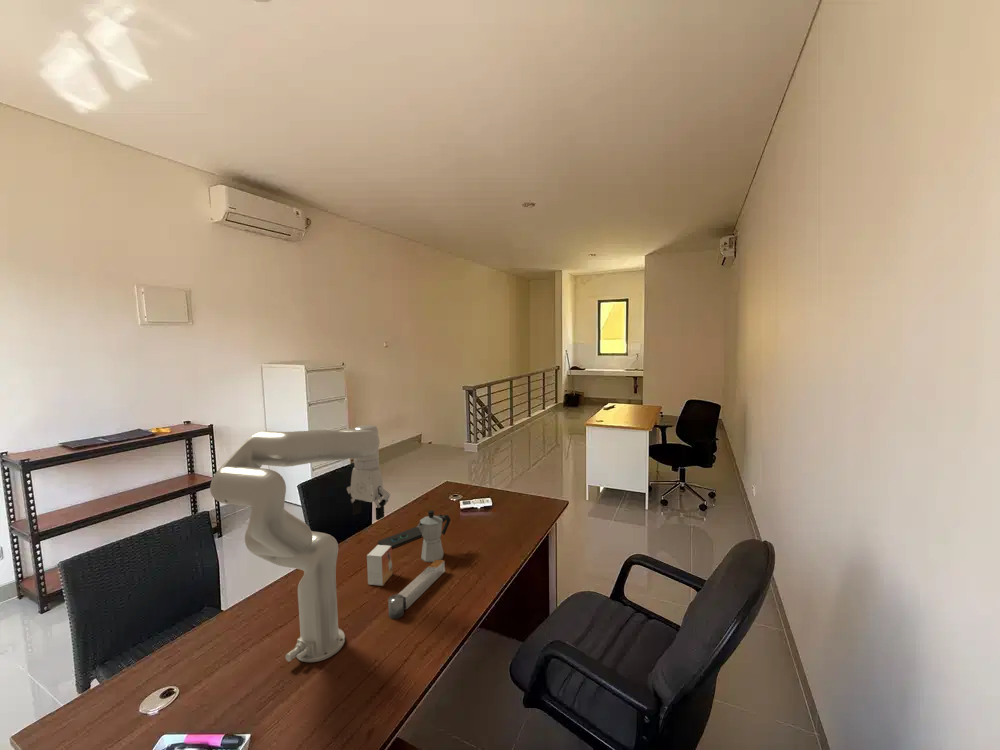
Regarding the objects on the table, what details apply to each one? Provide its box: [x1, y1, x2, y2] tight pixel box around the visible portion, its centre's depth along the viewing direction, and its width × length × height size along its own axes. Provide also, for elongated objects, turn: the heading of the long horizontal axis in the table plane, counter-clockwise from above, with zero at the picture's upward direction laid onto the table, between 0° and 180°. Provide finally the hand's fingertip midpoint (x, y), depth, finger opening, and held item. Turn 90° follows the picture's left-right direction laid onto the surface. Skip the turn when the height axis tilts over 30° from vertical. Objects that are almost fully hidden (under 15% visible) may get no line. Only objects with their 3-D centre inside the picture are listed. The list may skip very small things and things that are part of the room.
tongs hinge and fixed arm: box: [387, 560, 440, 620], centre depth 142 cm, size 28×4×5 cm, turn 157°
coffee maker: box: [416, 509, 452, 563], centre depth 165 cm, size 15×9×18 cm, turn 131°
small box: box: [366, 544, 394, 586], centre depth 150 cm, size 8×6×10 cm
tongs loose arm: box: [402, 559, 446, 611], centre depth 144 cm, size 23×2×4 cm, turn 157°
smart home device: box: [377, 526, 423, 549], centre depth 181 cm, size 8×2×20 cm
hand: (368, 516), depth 140 cm, fingers open, 9 cm apart
